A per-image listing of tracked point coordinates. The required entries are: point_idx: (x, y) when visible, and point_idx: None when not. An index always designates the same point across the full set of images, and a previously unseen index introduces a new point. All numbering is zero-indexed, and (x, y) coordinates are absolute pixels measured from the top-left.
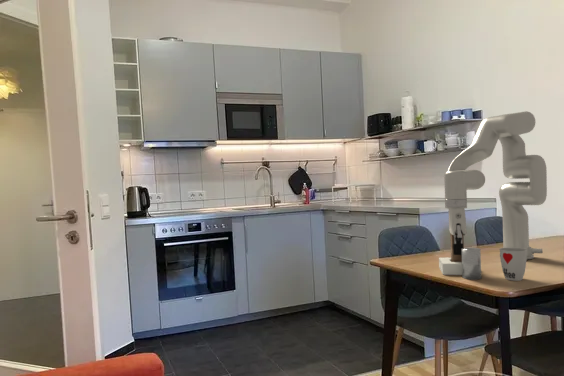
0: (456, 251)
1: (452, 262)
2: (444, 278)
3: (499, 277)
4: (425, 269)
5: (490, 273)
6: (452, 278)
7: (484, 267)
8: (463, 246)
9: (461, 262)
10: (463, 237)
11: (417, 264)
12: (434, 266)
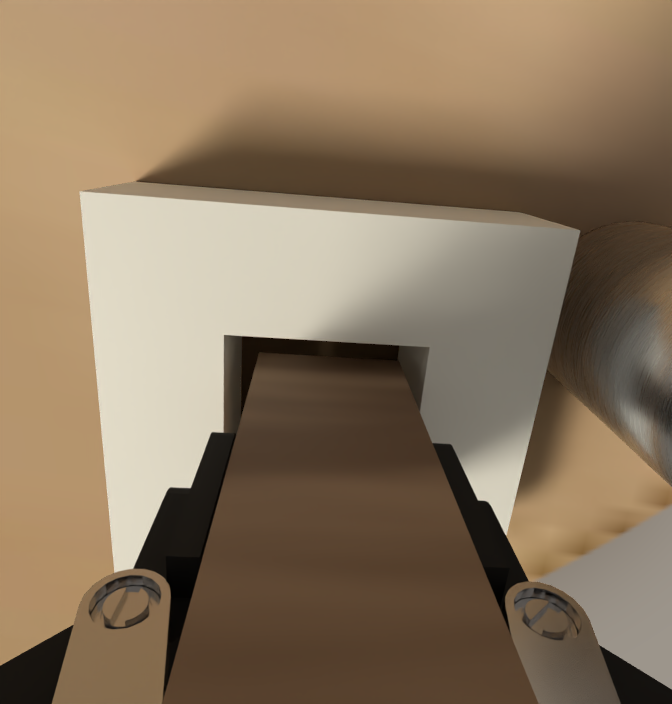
0: None
1: None
2: (597, 527)
3: (668, 3)
4: None
5: (443, 44)
6: (609, 472)
7: (60, 3)
8: (458, 509)
9: (452, 415)
10: (529, 688)
11: (5, 650)
12: (82, 537)
